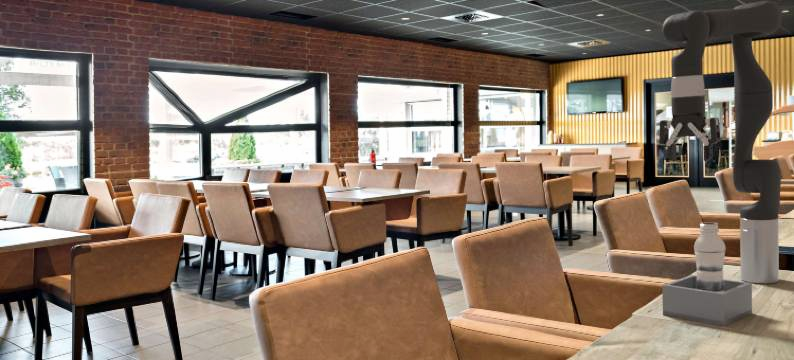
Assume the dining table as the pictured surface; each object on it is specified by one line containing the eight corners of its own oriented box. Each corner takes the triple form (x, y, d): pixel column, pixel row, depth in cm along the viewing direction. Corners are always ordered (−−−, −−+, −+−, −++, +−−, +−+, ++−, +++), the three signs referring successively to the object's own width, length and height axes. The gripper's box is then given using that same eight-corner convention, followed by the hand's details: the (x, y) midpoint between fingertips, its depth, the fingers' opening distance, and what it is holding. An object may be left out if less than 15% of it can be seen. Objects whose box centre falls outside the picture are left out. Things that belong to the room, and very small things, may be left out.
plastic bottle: (695, 305, 159) (694, 221, 158) (727, 307, 156) (726, 221, 154) (692, 311, 153) (691, 225, 152) (725, 314, 150) (724, 225, 149)
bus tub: (692, 303, 165) (691, 274, 164) (752, 313, 154) (751, 283, 153) (662, 314, 156) (662, 285, 155) (724, 326, 145) (723, 294, 144)
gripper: (724, 92, 162) (725, 159, 163) (667, 96, 172) (669, 159, 174) (710, 93, 157) (712, 162, 158) (652, 97, 167) (654, 162, 169)
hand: (689, 161), depth 166 cm, fingers open, 8 cm apart
